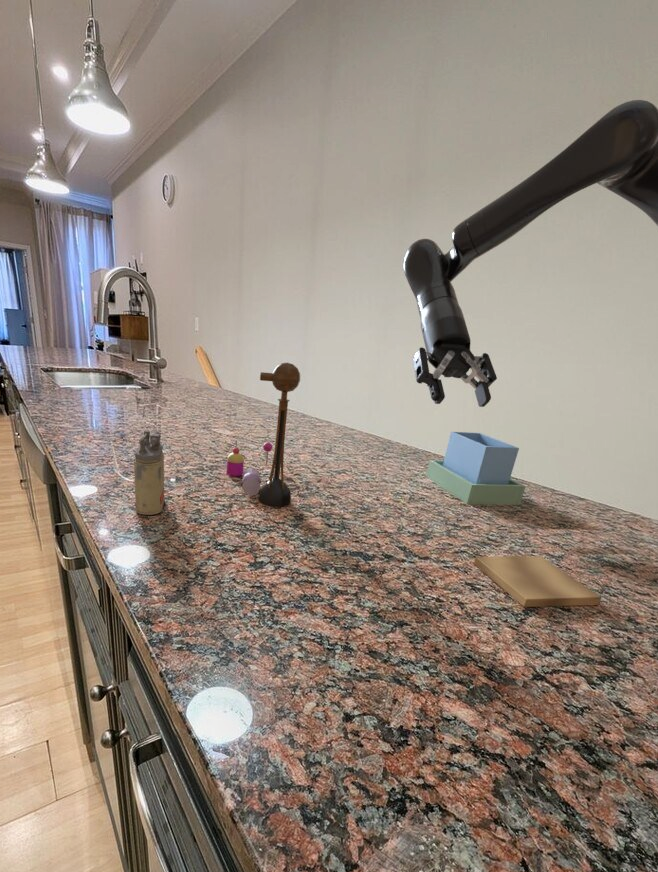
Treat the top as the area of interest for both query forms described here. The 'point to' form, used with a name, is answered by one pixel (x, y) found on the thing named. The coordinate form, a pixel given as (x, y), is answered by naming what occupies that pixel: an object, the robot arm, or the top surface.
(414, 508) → the top surface
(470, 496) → the bottom bin
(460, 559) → the top surface
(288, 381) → the wooden tabletop sculpture
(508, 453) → the top bin
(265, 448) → the candy
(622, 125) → the robot arm
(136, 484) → the beige upright cylinder
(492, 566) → the cork mat
